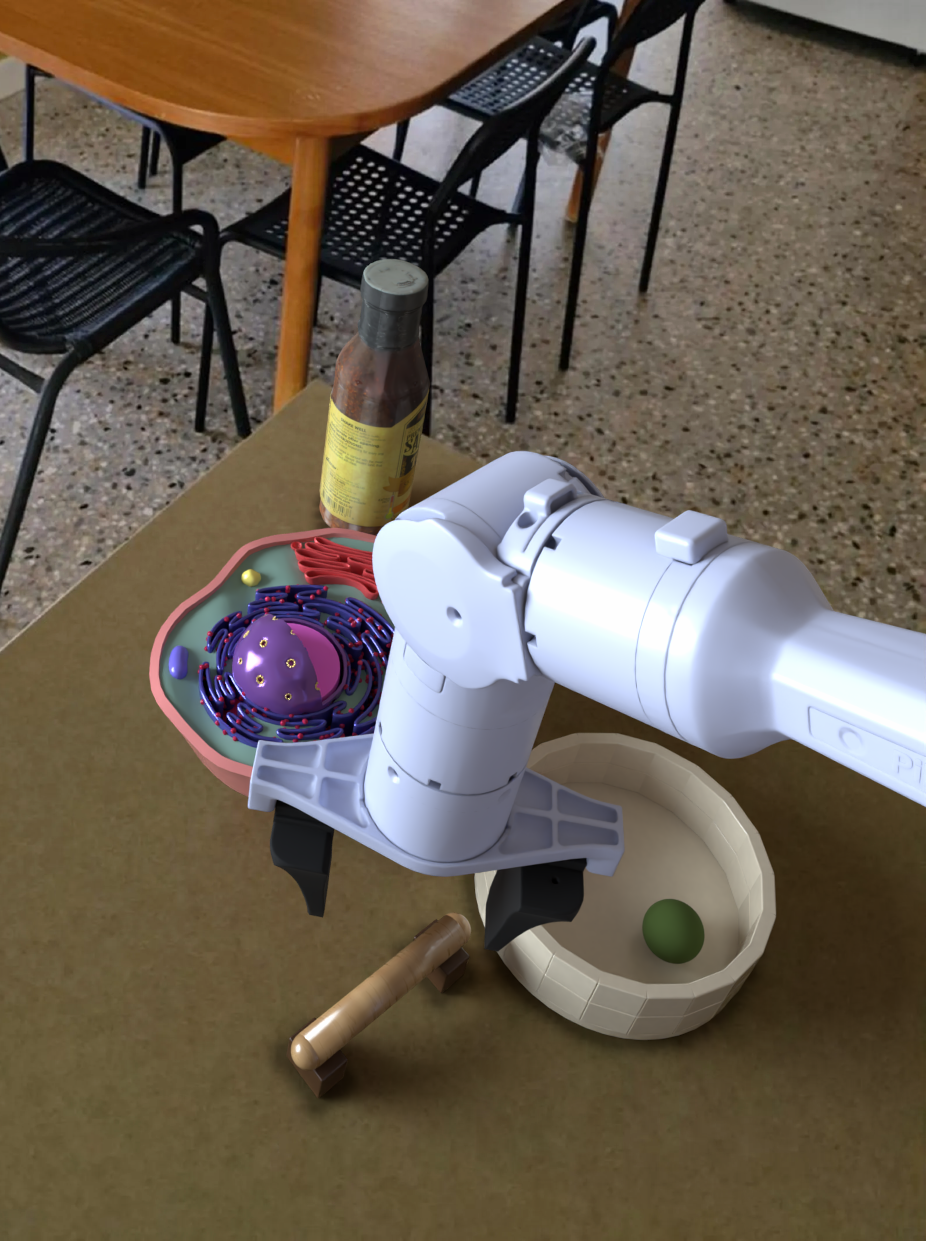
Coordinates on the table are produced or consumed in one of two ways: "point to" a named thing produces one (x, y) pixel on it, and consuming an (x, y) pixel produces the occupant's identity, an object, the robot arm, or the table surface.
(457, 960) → the stick rest
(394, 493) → the sauce bottle
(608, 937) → the cream shallow round container
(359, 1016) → the stick
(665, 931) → the green ball
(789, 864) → the table surface
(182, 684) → the cell model
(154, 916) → the table surface
